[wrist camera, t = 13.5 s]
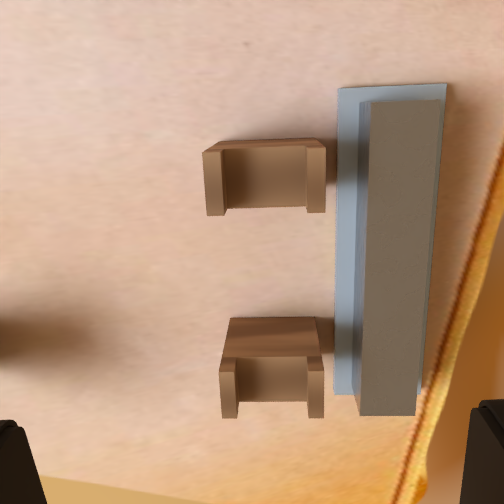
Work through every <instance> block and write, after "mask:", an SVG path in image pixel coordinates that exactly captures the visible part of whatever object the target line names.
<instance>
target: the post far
mask: <svg viewBox="0 0 504 504" xmlns="http://www.w3.org/2000/svg"><path fill="white" fill-rule="evenodd" d="M219 383H220V396H221V409H222V418H237V414H238V406H239V402H286V401H307V407H308V416H309V418H324V367H323V362H322V356H321V351H320V345H319V339H318V334H317V328H316V323H315V317H268V318H230V322H229V327H228V331H227V336H226V340H225V345H224V350H223V354H222V359H221V364H220V368H219Z"/></svg>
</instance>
